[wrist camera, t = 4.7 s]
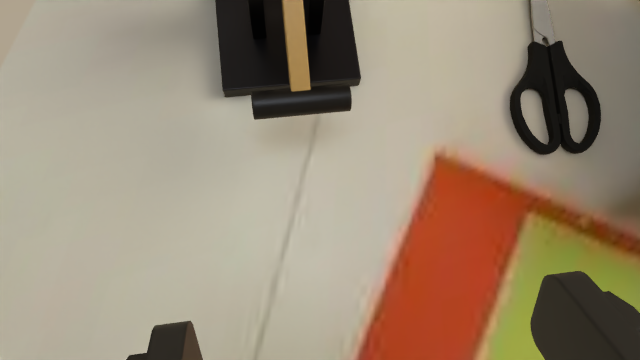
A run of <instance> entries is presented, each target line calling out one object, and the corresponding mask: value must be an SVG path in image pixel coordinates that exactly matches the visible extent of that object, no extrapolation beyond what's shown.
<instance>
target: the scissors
mask: <svg viewBox="0 0 640 360" xmlns="http://www.w3.org/2000/svg"><path fill="white" fill-rule="evenodd" d="M530 2H531V19H532V28H533V36H534V42H532V43H531V44H530V45H529V46H528V64H527V68H526V71H525V73H524V75H523V78H522V79H521V80H520V82H519V83H518V85H517V86H516V87H515V88H514V90H513V92H512V94H511V97H510V111H511V117H512V120H513V123H514V126H515V128H516V130H517V132H518V134H519V136H520V137H521V139H522V140H523V141H524V142H525V143H526V144H527V146H528V147H529V148H530V149H532V150H533V151H535V152H537V153H539V154H550V153H552V152H554V151H555V150H556V149H557V148H558V147H559V145H560V144H561V146H562V147H563V148H564V149H565V150H566V151H568V152H571V153H581V152H584V151H585V150H587V149H588V148H589V147H590V146H591V145H592V144H593V142H594V140H595V139H596V137H597V135H598V132H599V129H600V122H601V110H600V103H599V100H598V97H597V94H596V92H595V90H594V89H593V87H592V86H591V85H590V84H589V83H588V82H587V81H586V80H585V79H583V78H582V77H581V76H580V75H579V74H578V73H577V71H576V70H575V69H574V67H573V66H572V65H571V63H570V62H569V60H568V58H567V56H566V53H565V50H564V47H563V42H562V41H557V42H555V36H554V30H553V25H552V20H551V15H550V10H549V9H548V4H547V0H530ZM544 37H545V38H547V41H548V44H549V46H548V47H546V46H545V45H543V44H542V38H544ZM572 87H573V88H576V89H577V90H579V91H580V92H581V93H582V94H583V96H584V98H585V101H586V104H587V108H588V114H589V121H588V128H587V132H586V134H585V137H584V139H583V140H582V142H581V143H580V144H579V143H576V142H574V141H573V139H572V138H571V135H570V128H569V118H568V110H567V105H566V101H565V97H564V94H565V90H566V89H567V88H572ZM528 88H533V89H535V90H537V91H539V93H540V95H541V97H542V103H543V111H544V116H545V121H546V126H547V130H548V135H549V142H548V145H546V144H543V143H542V142H540V141H539V140H538V139H537V138H536V137H535V136H534V135H533V134H532V132H531V131H530V130H529V128H528V126H527V124H526V122H525V120H524V117H523V115H522V110H521V103H520V98H521V93H522V92H523V91H524V90H526V89H528Z"/></svg>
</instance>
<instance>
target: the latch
mask: <svg viewBox="0 0 640 360" xmlns="http://www.w3.org/2000/svg"><path fill="white" fill-rule="evenodd" d="M282 11H283V21H284V31H285V41H286V52H287V62H288V72H289V83H290V88H287V89H276V90H264V91H253V92H251V99H252V108H253V116H254V119H255V120H256V119H267V118H278V117H289V116H299V115H310V114H321V113H331V112H342V111H350V110H351V104H352V100H351V90H350V86H349V84H348V83H344V84H333V85H322V86H310V75H309V64H308V53H307V41H306V30H305V18H304V7H303V0H282Z"/></svg>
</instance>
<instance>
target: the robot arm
mask: <svg viewBox="0 0 640 360" xmlns="http://www.w3.org/2000/svg"><path fill="white" fill-rule="evenodd" d="M531 332H532V336H533V339H534V342H535V344H536V346H537V348H538V349H539V351H540V352H541V354H542V355H543V357H544V358H545V360H640V313H639V312H638V311H637V310H636V309H635V308H634V307H633V306H631V305H630V304H628V303H627V302H625V301H624V300H622V299H620V298H619V297H617V296H616V295H614V294H613V293H611V292H610V291H606V292H602V290H601V289H600V288H599V287H598V286H597V285H596V284H595V283H594V282H593V281H592V279H591V278H590V277H589V276H588V275H587V274H585V273H583V272H581V271H574V272H567V273H559V274H552V275H547V276H545V277H544V278H543V280H542V283H541V287H540V290H539V294H538V297H537V300H536V304H535V307H534V311H533V314H532V318H531ZM126 360H203V358H202V355H201V351H200V348H199V344H198V341H197V337H196V334H195V330H194V327H193V324H192V322H191V321H185V322H178V323H170V324H163V325H156V326H154V328H153V330H152V333H151V337H150V342H149V346H148V351H147V353H143V354H135V355H129V357H128V358H127V359H126Z"/></svg>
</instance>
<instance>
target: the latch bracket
mask: <svg viewBox="0 0 640 360" xmlns="http://www.w3.org/2000/svg"><path fill="white" fill-rule="evenodd" d="M215 2H216V14H217V26H218V38H219V51H220V63H221V75H222V87H223V92H224V95H225V97H230V96H242V95H251V92H253V91H264V90H276V89H287V88H290V83H289V72H288V62H287V52H286V41H285V31H284V21H283V11H282V0H215ZM303 7H304V18H305V30H306V41H307V53H308V64H309V75H310V86H322V85H333V84H344V83H348V84H349V86H355V85H359V82H360V79H361V75H360V69H359V62H358V56H357V50H356V43H355V37H354V31H353V24H352V18H351V12H350V5H349V0H303Z"/></svg>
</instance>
